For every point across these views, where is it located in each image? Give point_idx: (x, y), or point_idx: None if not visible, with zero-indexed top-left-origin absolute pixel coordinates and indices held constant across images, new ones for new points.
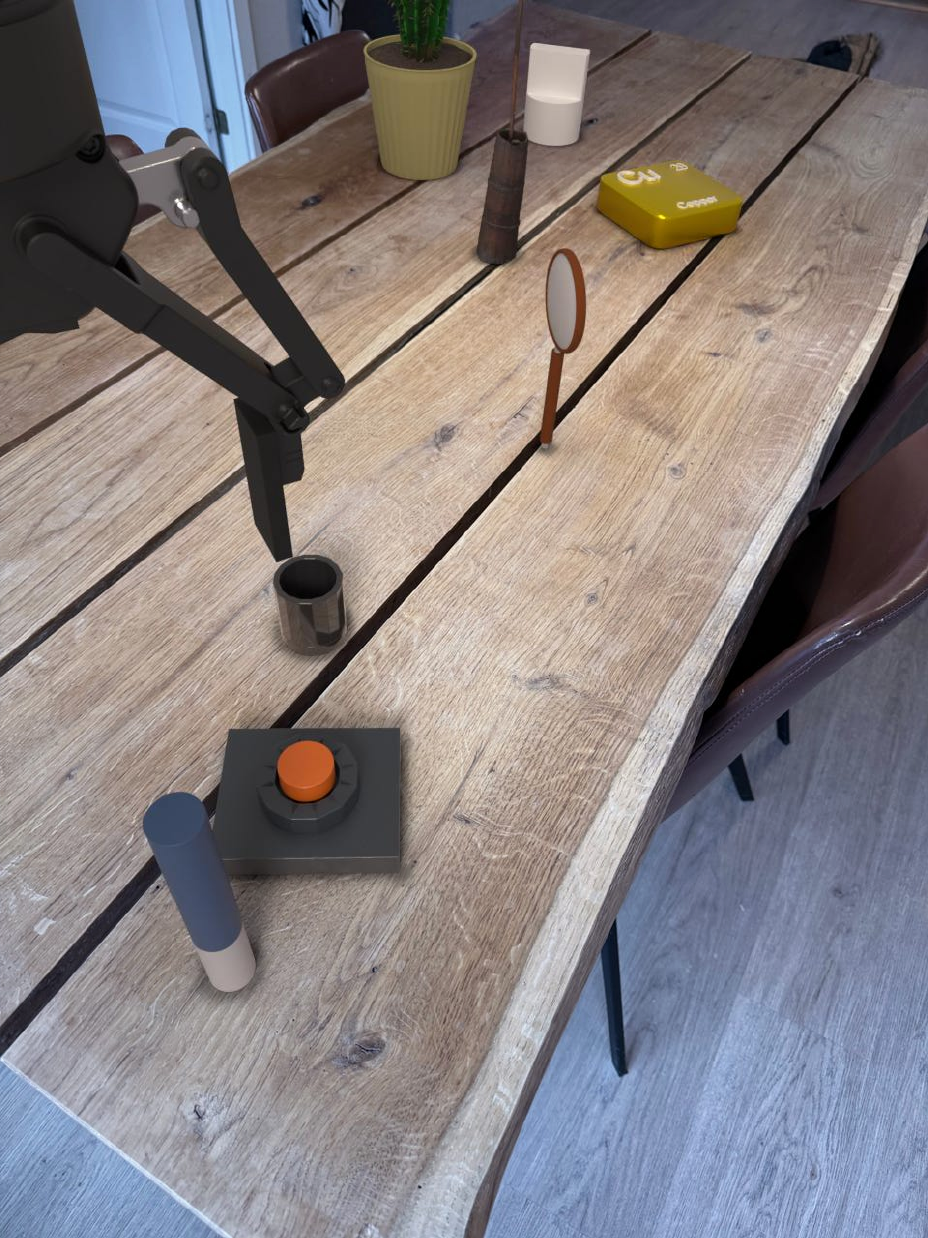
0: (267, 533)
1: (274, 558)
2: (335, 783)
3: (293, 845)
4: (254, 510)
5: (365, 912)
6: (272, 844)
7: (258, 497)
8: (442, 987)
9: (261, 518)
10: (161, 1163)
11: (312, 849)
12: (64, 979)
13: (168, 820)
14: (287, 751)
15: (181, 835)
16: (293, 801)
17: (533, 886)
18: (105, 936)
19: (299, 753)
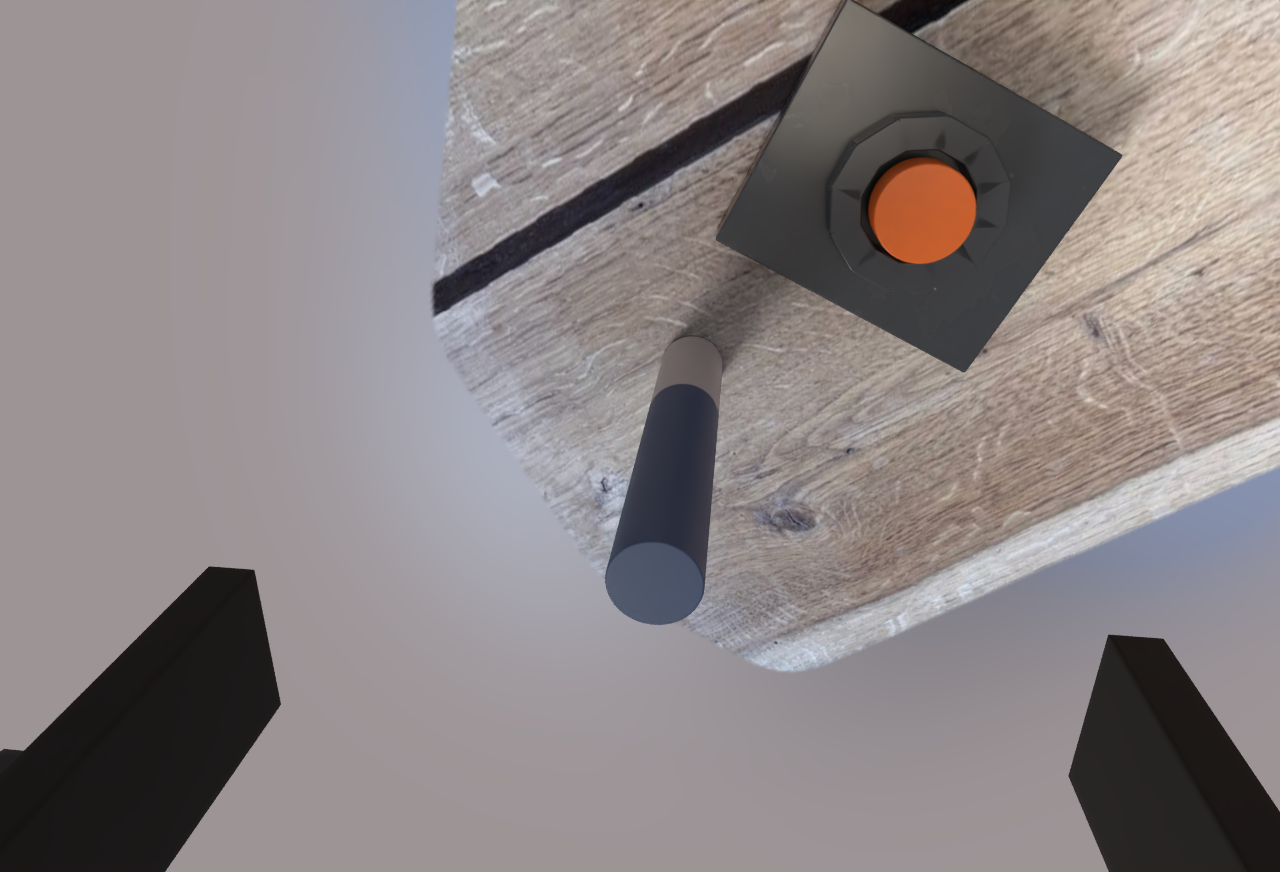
0: (1103, 795)
1: (1072, 773)
2: None
3: (838, 280)
4: (1130, 708)
5: (880, 382)
6: (811, 263)
7: (1157, 865)
8: (910, 507)
9: (1123, 781)
10: (557, 508)
11: (860, 300)
12: (498, 273)
13: (645, 582)
14: (910, 173)
15: (655, 613)
16: None
17: (1102, 461)
18: (557, 241)
19: (926, 189)
